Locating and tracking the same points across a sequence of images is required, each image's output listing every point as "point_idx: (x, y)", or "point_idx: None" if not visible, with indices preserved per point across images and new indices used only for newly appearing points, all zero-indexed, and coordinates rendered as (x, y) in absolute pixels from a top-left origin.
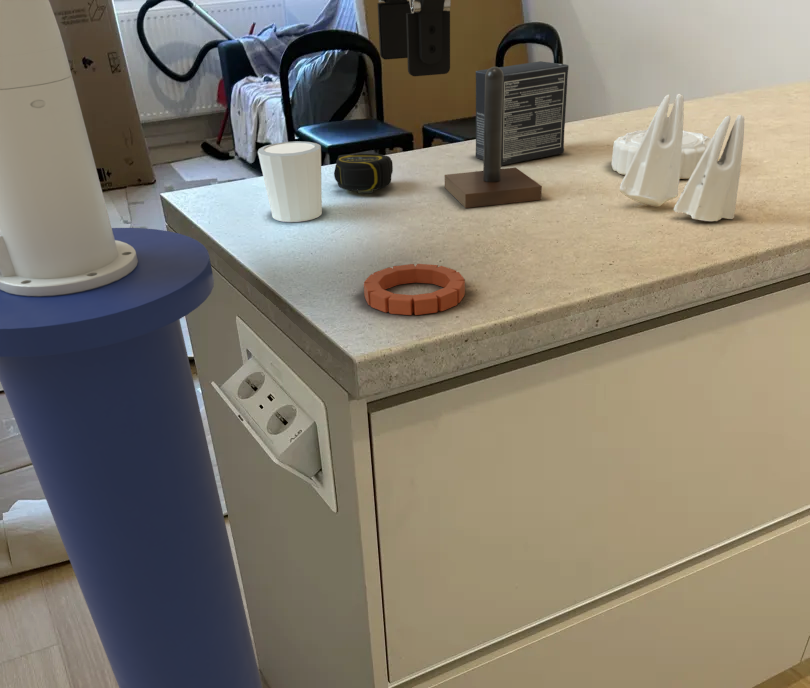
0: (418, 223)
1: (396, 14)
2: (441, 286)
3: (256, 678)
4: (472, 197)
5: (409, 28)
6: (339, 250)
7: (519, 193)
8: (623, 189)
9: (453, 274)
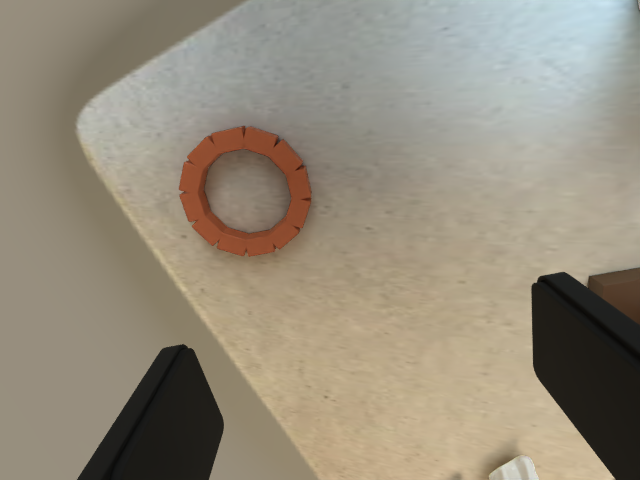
0: (543, 206)
1: (621, 419)
2: (275, 225)
3: None
4: (598, 292)
5: (104, 445)
6: (449, 79)
7: None
8: (519, 460)
9: (265, 245)
